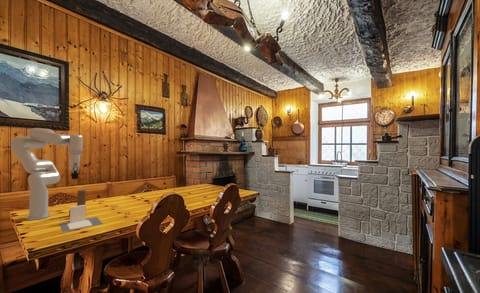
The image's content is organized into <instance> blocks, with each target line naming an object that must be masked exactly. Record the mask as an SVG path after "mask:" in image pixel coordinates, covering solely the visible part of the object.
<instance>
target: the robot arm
mask: <svg viewBox="0 0 480 293" xmlns="http://www.w3.org/2000/svg"><path fill="white" fill-rule="evenodd" d="M27 134H28V135H27V136H23V135H22V136H16V137H13V138H12V139H11V141H10V148H11V151H12V152H13V154H14V155H15V156H16V157H17V158H18V160H19V162H20V163H21V165H22V167H23V169H24V170H25V171H26V172H27V173H28V174H30V175H29V176H28V179H27V180H28V185H29V206H28V207H29V209H28V213H29V214H28V215H27V216H26V217H25V220H26V221H33V220H42V219H46V218H49V217H51V213H49V188H47V185H53V184H58V183H59V182H60V181H61V175H60V172H59V171H58V169H57V167H56V166H55V164H54V162H52V161H51V160H50V159H38V157H37V156H36V154H35V153H34V152H33V151H31V150H29V149H32V150H34V149H42V148H45V146H47V145H53V146H66V147H67V146H68V156H69V170H70V171H71V179H72V180H78V179H79V170H80V165H81V156H83V153H84V152H83V148H84V137H83V135H81V134H65V133H64V134H63V133H56V132H55V131H54V130H52V129H51V128H42V127H34V128H31V129H29V130H28V133H27Z"/></svg>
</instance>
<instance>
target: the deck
mask: <svg viewBox="0 0 480 293" xmlns="http://www.w3.org/2000/svg"><path fill="white" fill-rule="evenodd" d="M86 209H87V205H80V206H77V205H75V206H70V207H69V210H70V217H69V222H70V223H73V222H79V221H84V220H86V219H87V218H86V217H87V216H86V215H87V214H86V213H87V210H86Z"/></svg>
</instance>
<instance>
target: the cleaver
mask: <svg viewBox="0 0 480 293" xmlns="http://www.w3.org/2000/svg"><path fill="white" fill-rule="evenodd" d="M86 197H87V190H86V189H80V190H79V189H78V190H77V204H76V206H80V205H86V204H87V203H86V202H87V201H86ZM86 206H87V205H86ZM68 217H69V218H70V209H69V210H68Z"/></svg>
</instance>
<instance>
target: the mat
mask: <svg viewBox="0 0 480 293" xmlns="http://www.w3.org/2000/svg"><path fill="white" fill-rule="evenodd" d="M101 225H104V223H103V221H102V220H100V218H99V217H97V216H94V217H88V218H86V220H84V221H79V222H73V223H70V221H65V222H59V226H60V229H61V232H62V233H65V232H70V231H76V230H80V229H85V228H91V227H96V226H101Z"/></svg>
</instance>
